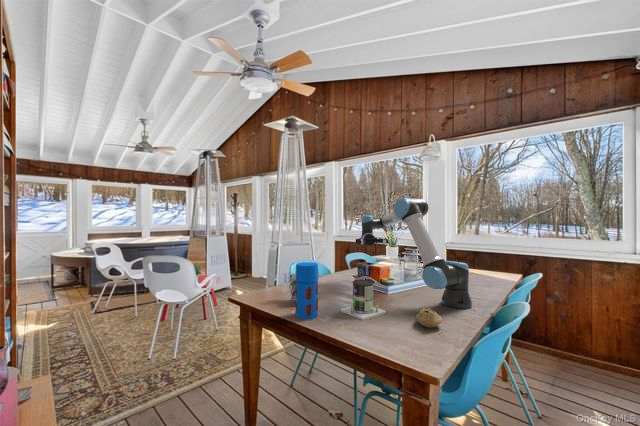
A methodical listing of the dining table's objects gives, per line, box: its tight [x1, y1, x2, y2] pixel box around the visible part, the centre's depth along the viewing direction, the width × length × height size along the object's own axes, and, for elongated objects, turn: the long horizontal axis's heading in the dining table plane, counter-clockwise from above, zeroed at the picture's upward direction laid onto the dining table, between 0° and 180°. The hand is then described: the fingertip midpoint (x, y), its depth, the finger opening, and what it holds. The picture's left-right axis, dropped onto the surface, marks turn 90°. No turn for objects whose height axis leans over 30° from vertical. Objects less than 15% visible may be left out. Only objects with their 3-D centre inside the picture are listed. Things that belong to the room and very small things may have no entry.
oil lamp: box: [415, 306, 443, 328], centre depth 131 cm, size 11×15×8 cm
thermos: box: [295, 261, 319, 320], centre depth 142 cm, size 11×11×25 cm
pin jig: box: [339, 304, 386, 321], centre depth 147 cm, size 16×16×4 cm
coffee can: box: [352, 278, 374, 313], centre depth 147 cm, size 10×10×14 cm
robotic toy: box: [287, 273, 296, 301], centre depth 164 cm, size 13×17×15 cm
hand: (374, 242), depth 174 cm, fingers open, 13 cm apart
